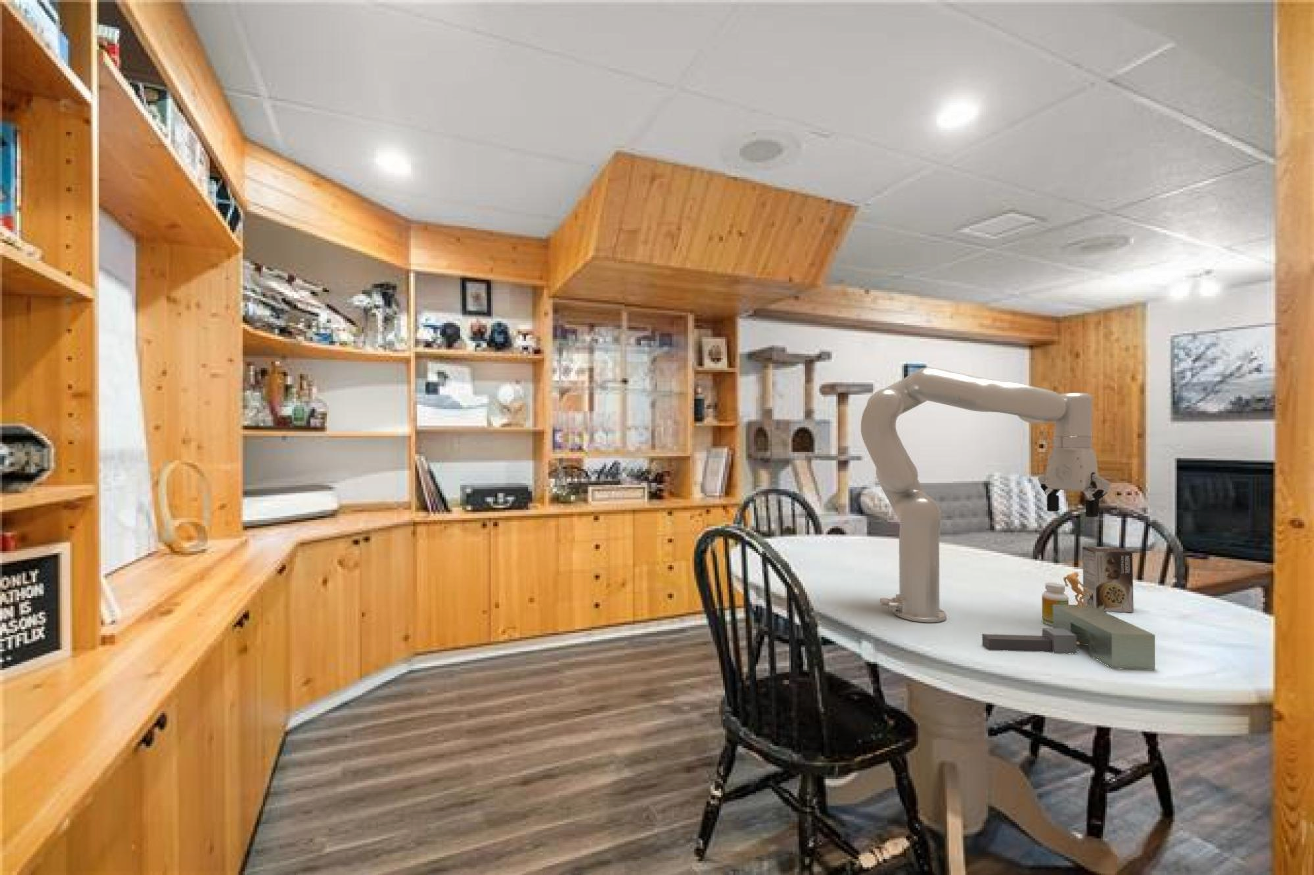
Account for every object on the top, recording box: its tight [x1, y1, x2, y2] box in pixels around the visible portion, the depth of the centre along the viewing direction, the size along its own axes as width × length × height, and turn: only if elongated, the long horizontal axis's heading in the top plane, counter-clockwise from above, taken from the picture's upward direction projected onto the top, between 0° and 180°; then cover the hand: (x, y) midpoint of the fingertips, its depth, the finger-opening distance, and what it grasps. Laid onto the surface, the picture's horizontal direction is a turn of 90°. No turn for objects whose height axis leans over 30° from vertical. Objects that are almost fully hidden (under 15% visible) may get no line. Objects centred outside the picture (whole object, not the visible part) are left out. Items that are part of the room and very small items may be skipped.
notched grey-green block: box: [1052, 604, 1156, 670], centre depth 124 cm, size 8×20×7 cm, turn 174°
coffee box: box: [1082, 546, 1135, 613], centre depth 154 cm, size 9×6×16 cm
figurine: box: [1062, 571, 1091, 605], centre depth 145 cm, size 8×6×12 cm
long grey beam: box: [981, 627, 1080, 655], centre depth 125 cm, size 18×4×4 cm, turn 84°
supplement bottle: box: [1041, 582, 1070, 627], centre depth 142 cm, size 5×5×10 cm
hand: (1071, 513), depth 140 cm, fingers open, 9 cm apart
